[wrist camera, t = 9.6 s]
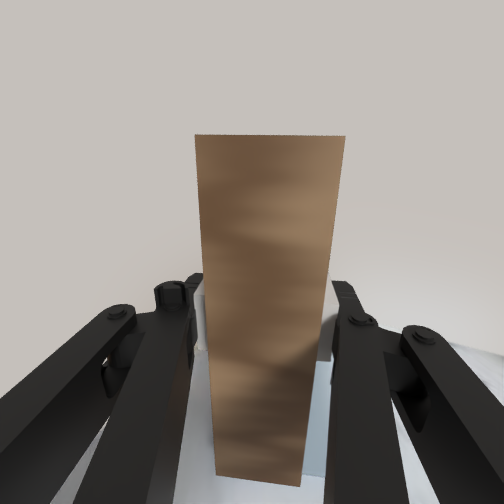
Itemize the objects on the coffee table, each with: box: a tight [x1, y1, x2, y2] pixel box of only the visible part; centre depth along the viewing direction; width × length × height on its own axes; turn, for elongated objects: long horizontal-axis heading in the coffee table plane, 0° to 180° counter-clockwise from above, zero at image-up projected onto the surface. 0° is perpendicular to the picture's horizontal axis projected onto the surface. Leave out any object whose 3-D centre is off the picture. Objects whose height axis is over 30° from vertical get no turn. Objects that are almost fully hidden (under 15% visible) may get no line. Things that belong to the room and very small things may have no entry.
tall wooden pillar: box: [195, 135, 345, 487], centre depth 12 cm, size 4×4×15 cm
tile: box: [302, 354, 334, 477], centre depth 19 cm, size 10×2×8 cm
